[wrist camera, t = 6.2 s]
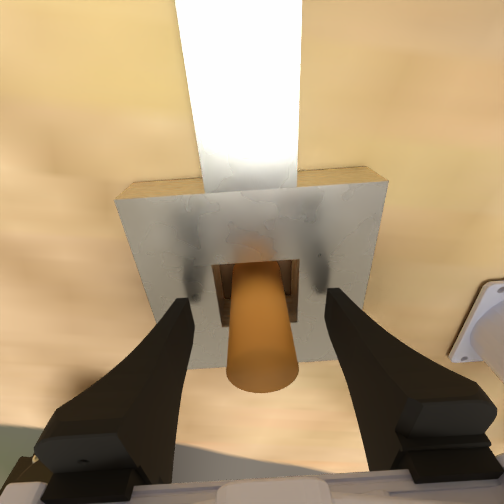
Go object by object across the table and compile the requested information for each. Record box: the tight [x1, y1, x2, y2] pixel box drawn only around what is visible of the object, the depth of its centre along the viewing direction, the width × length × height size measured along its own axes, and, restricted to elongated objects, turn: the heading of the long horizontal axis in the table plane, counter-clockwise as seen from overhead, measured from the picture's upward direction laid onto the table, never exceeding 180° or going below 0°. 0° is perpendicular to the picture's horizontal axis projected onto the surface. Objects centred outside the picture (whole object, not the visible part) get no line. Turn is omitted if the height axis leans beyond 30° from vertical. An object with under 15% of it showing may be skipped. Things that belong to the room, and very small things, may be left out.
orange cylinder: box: [226, 261, 299, 393], centre depth 14 cm, size 3×3×7 cm
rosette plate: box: [114, 0, 389, 369], centre depth 14 cm, size 12×20×2 cm, turn 4°
